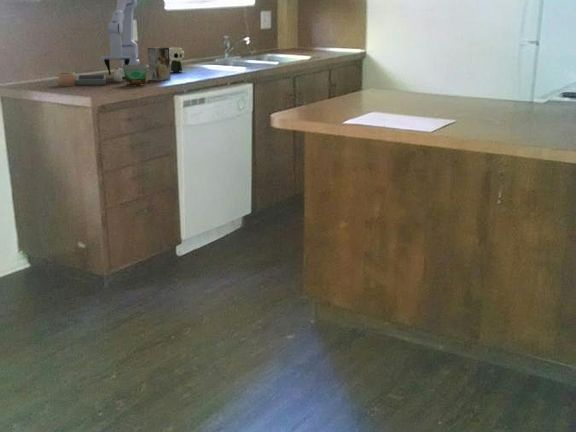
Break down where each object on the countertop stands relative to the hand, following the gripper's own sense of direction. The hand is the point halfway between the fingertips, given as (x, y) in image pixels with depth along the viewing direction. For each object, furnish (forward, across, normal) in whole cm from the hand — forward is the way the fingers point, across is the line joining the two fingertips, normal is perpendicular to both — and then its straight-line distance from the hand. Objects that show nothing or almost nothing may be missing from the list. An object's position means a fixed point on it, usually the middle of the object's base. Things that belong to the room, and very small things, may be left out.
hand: (117, 74), depth 370 cm
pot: (+3, -24, -13) cm, 27 cm away
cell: (+3, 0, 0) cm, 3 cm away
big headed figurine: (+3, +32, +32) cm, 45 cm away
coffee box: (+3, +21, +2) cm, 21 cm away
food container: (+3, +9, -18) cm, 20 cm away
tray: (+3, -13, -4) cm, 14 cm away
